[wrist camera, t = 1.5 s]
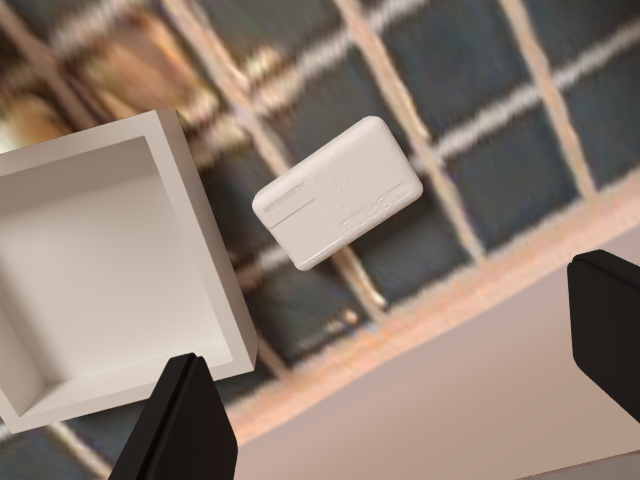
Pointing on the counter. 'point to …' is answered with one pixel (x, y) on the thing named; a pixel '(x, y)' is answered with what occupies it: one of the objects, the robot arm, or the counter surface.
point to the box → (110, 272)
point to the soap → (338, 193)
